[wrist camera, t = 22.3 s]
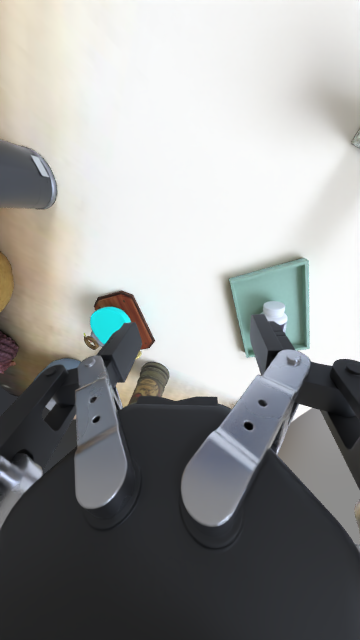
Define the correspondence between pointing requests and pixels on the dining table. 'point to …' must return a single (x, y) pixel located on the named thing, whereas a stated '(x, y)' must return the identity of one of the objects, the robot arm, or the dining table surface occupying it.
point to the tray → (275, 299)
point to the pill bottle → (275, 313)
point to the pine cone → (7, 352)
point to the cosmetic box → (357, 139)
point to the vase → (5, 281)
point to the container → (150, 381)
